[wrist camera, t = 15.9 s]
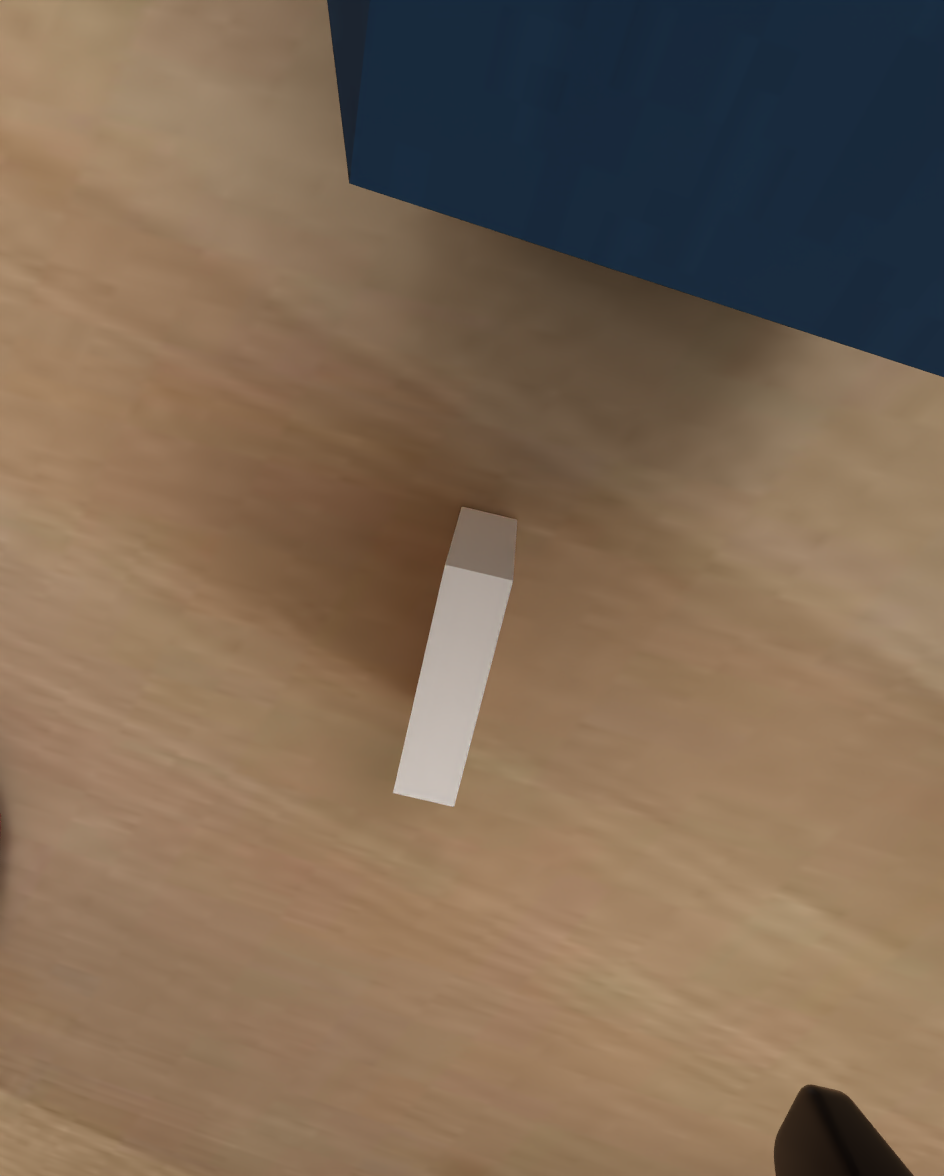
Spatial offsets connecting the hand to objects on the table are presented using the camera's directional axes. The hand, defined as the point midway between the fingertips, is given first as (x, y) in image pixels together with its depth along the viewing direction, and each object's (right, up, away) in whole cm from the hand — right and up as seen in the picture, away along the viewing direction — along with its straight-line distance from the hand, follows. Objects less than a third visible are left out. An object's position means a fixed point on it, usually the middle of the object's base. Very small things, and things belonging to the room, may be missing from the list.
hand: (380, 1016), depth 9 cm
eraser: (+1, +4, +10) cm, 11 cm away
